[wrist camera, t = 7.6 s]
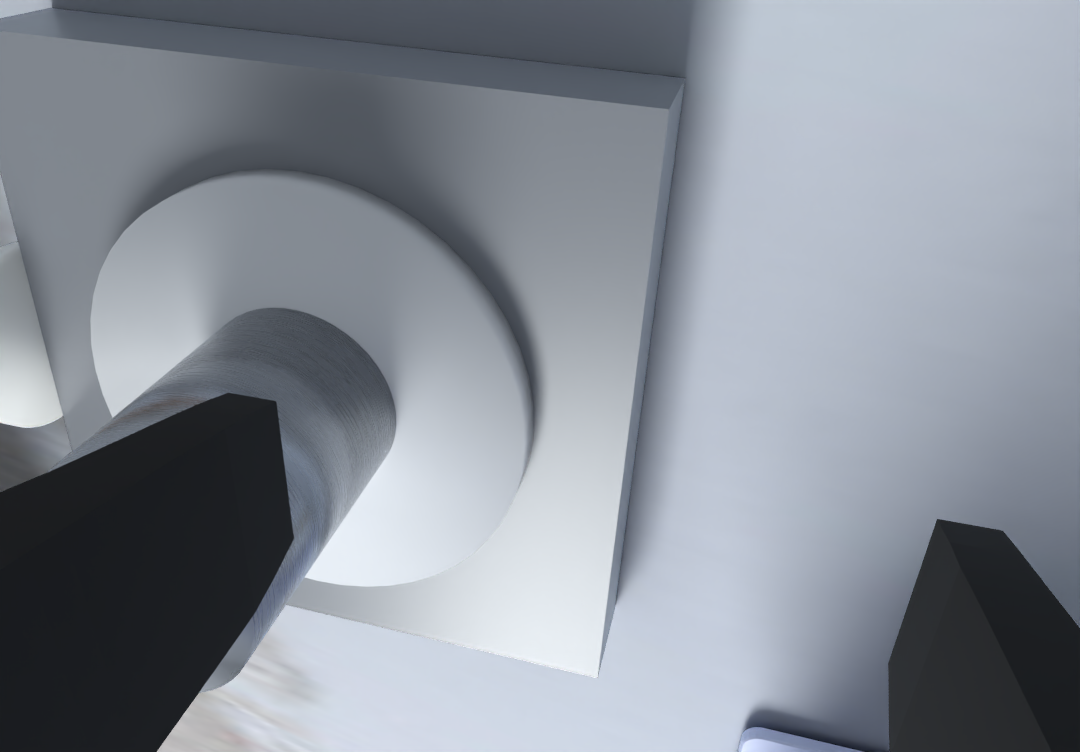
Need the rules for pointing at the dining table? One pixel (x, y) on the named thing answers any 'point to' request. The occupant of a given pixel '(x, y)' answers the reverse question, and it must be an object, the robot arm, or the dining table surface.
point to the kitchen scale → (360, 285)
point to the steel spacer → (282, 430)
